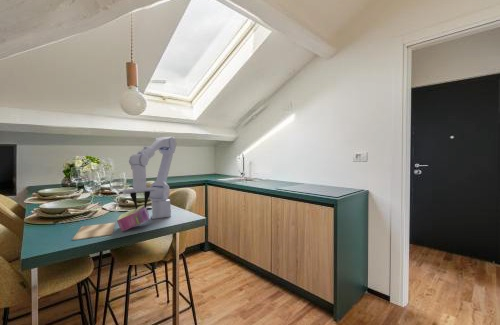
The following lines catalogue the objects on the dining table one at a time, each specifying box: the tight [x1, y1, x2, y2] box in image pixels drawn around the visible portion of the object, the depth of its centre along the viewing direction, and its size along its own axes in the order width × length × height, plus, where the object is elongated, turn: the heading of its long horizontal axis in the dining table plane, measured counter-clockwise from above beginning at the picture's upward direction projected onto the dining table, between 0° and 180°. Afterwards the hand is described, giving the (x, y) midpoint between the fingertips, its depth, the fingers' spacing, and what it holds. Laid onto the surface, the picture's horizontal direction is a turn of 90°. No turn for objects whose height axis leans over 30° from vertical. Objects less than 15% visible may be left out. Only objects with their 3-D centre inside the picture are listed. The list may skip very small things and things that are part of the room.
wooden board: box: [71, 221, 117, 241], centre depth 110 cm, size 14×18×1 cm
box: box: [116, 204, 150, 232], centre depth 114 cm, size 10×6×12 cm
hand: (140, 208), depth 117 cm, fingers open, 3 cm apart
